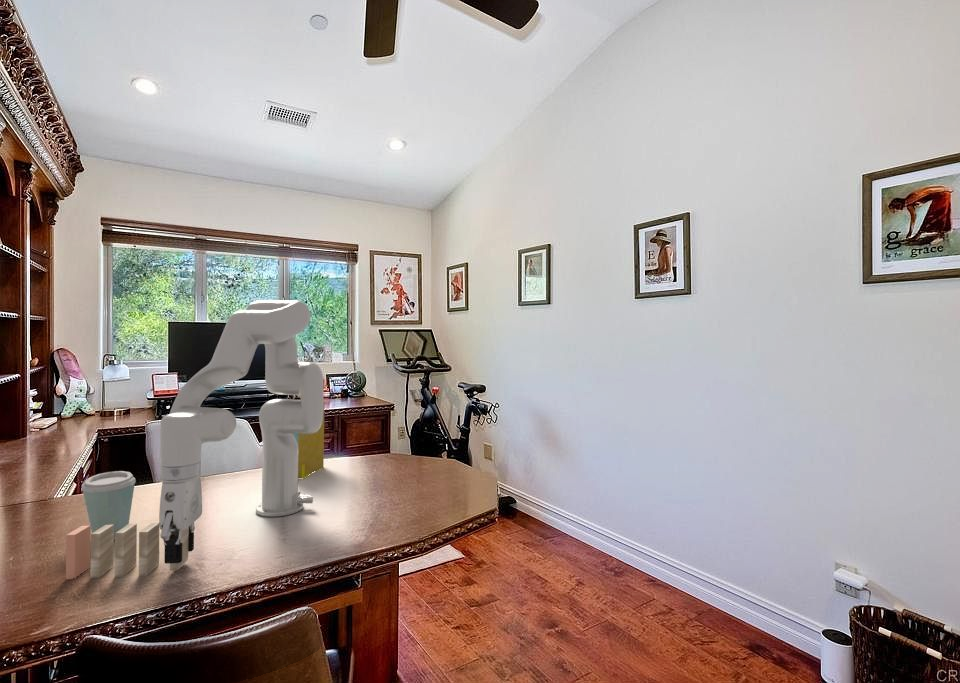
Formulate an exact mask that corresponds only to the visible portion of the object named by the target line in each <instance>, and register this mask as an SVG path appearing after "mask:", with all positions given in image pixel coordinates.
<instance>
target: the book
mask: <svg viewBox="0 0 960 683" xmlns="http://www.w3.org/2000/svg"><path fill="white" fill-rule="evenodd" d="M292 434H293V435H294V437H295V439H296V441H297V444H298V478H304V479H306V478H308V477H309V476H310V475H309V474H311V473H312V472H314V471H317V470H319V469H321V468H323V469H324V460H325V458H324V457H325V456H324V455H325V454H324V453H325V450H324V448H325V401H324V400H323V421H322V425H321V427H320V429H319V430H318V431H317V432H316V433H313V434H294V433H292ZM321 470H322V469H321ZM319 471H320V470H319ZM317 472H318V471H317ZM308 475H309V476H308ZM311 475H312V474H311ZM307 476H308V477H307ZM305 477H306V478H305Z"/></svg>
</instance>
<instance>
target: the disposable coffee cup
mask: <svg viewBox="0 0 960 683" xmlns="http://www.w3.org/2000/svg"><path fill="white" fill-rule="evenodd" d="M135 483H137V480H136V478H135V477H134V475H133V474H132V473H131V472H130V471H124V470H118V471H117V470H115V471H107V472H103V473H102V472H101V473H98V474H95V475H92V476H89V477H88V478H87V479H86V480H85V481H84V483H83V484H82V485H81V491H82V492H83V498H84V502H85V506H86V507H85V508H86V512H87V515H88V521H89V524H90V525H91V534H92V533H93V532H95V531H97V530H98V529H100V528H101V527H103V526H105V525H114V541H115V533H116V532H118V531H119V530H121V529H122V528H124V527H125V526H126V525H128V524H130V519H131V518H130V517H131V511H132V503H133V499H134V498H133V497H134V489H135Z"/></svg>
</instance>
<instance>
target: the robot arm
mask: <svg viewBox="0 0 960 683" xmlns="http://www.w3.org/2000/svg"><path fill="white" fill-rule="evenodd" d="M310 320H311V311H310V308H309V307H308V306H307V304H306V303H305V302H303V301H301V300H288V299H287V300H280V299H279V300H278V299H264V300H263V299H262V300H256V301H253V302H251V303H249V304H248V305H247V306H246V310H245V309H244V310H238V311H236V312H234V313H232V314H231V315H230V316H229V317H228V318H227V322H226V323H225V326H224V327H223V331H222V334H221V336H220V338H219V341H218V343H217V345H216V347H215V350H214V353H213V356H212V358H211V360H210V361H209V363H208V364H207V365H206V366H204V367H203V368H201V369H200V370H199V371H198V372H197V373H195V374H194V375H193V376H192V377H191V378H189V380H188V381H187V382H186V383H184V384H183V386H182V387H181V388H180V390H178V393H177V395H176V396H175V399H174V401H173V404H172V406H171V408H170V411H169V414H168V413H167V414H165V415H164V416H163V417H161V420H160V429H159V430H160V431H159V432H160V436H159V438H160V442H159V445H160V446H159V447H160V448H159V450H160V451H159V453H160V454H159V458H160V459H159V482H160V483H161V488H160V489H161V490H160V499H159V516H158V518H159V519H158V520H159V522H158V523H159V530H161V531H160V533H159V538H161V539H162V540H163V546H164V564H168V565H170V563H180V562H181V561H182V543H180V542H181V534H182V530H185V529H186V528H188V527H189V538H188V551H189V552H192V551H193V550H194V549H195V528H196V527H195V522H197V520H198V519H199V518H201V516H202V513H203V496H202V495H203V494H202V492H203V491H202V482H201V476H202V445H203V444H205V443H206V444H207V443H216V442H217V443H218V442H221V441H225V440H226V439H228V438H230V437H231V436H232V435H233V434H234V432H235V430H236V428H237V419H236V416H235V414H234V413H233V412H231V410H230V411H229V410H228V409H226V408H218V407H207V406H206V407H205V406H203V407H202V406H201V405H202V403H203V401H204V400H206V398H207V397H208V396H209V395H210V394H211V393H214V391H216V390H218V389H219V388H221V387H223V386H226V385H228V384H230V383H234V382H236V381H237V380H238V381H239V379H242V378H244V377H245V376H246V375H247V374H248V372H249V370H250V367H251V363H252V361H253V359H254V356H255V354H256V353H255V352H256V350H257V348H258V347H259V345H264V348H265V350H264V351H265V358H264V359H265V362H264V364H265V369H264V370H265V373H264V374H265V376H264V379H265V387H266V389H267V391H268V392H270V393H271V394H274V395H283V396H284V395H285V396H299V397H300V399H290V398H289V399H288V398H274V399H270V400H267V401H266V402H265V403H264V404H263V405H261V407H260V410H259V413H258V420H259V426H260V430H261V438H262V440H261V442H262V463H261V464H262V466H261V467H262V471H261V472H262V475H261V476H262V477H261V482H262V483H261V503H260V504H258V505H256V507H255V513H256V514H257V515H259V516H262V517H268V518H271V517H272V518H273V517H274V518H275V517H283V516H289V515H293V514H296V513H298V512H300V511H301V510H302V509H303V508H304V504H313V503H314V496H312V495H311V494H305V495H304V494H301V490H300V489H299V479H298V444H297V441H296V439H295V437H294V435H293V434H292V433H294V434H313V433H316V432H317V431H318V430H319V429H320V427H321V425H322V421H323V401H324V394H325V393H324V392H325V391H324V375H323V371H322V369H321V367H320V366H319V364H316V363H315V362H311V361H299V359H298V343H297V340H296V339H295V338H296V337H295V336H296V335H299V334H300V333H301V332H303V331H305V329H306V328H307V327H308V326H309V323H310ZM172 526H176V527H177V528H172ZM171 532H177V534H176V536H175V535H174V534H172V533H171Z"/></svg>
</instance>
